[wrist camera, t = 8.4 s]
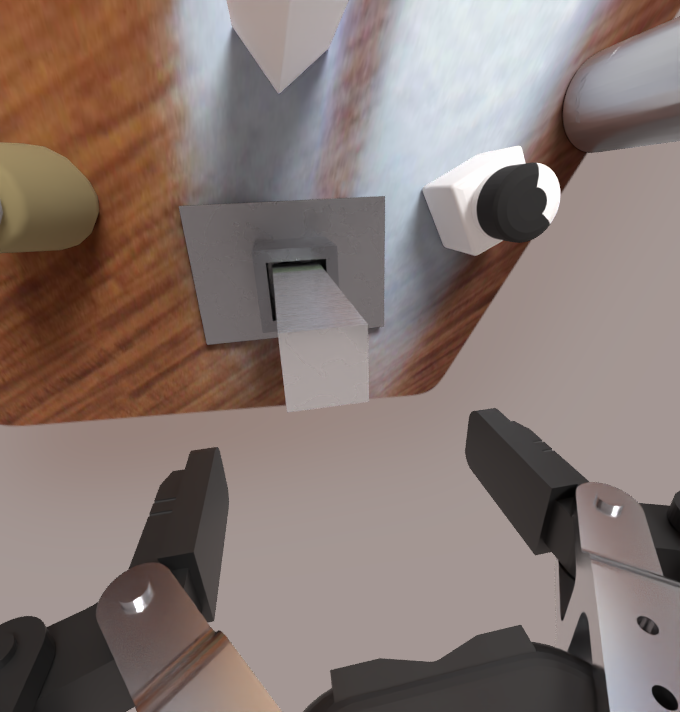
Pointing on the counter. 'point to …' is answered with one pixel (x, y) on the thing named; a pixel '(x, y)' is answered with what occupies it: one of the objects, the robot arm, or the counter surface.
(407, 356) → the counter surface
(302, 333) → the column
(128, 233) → the counter surface
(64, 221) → the squeeze bottle
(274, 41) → the milk
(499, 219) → the medicine bottle
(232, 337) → the stand
